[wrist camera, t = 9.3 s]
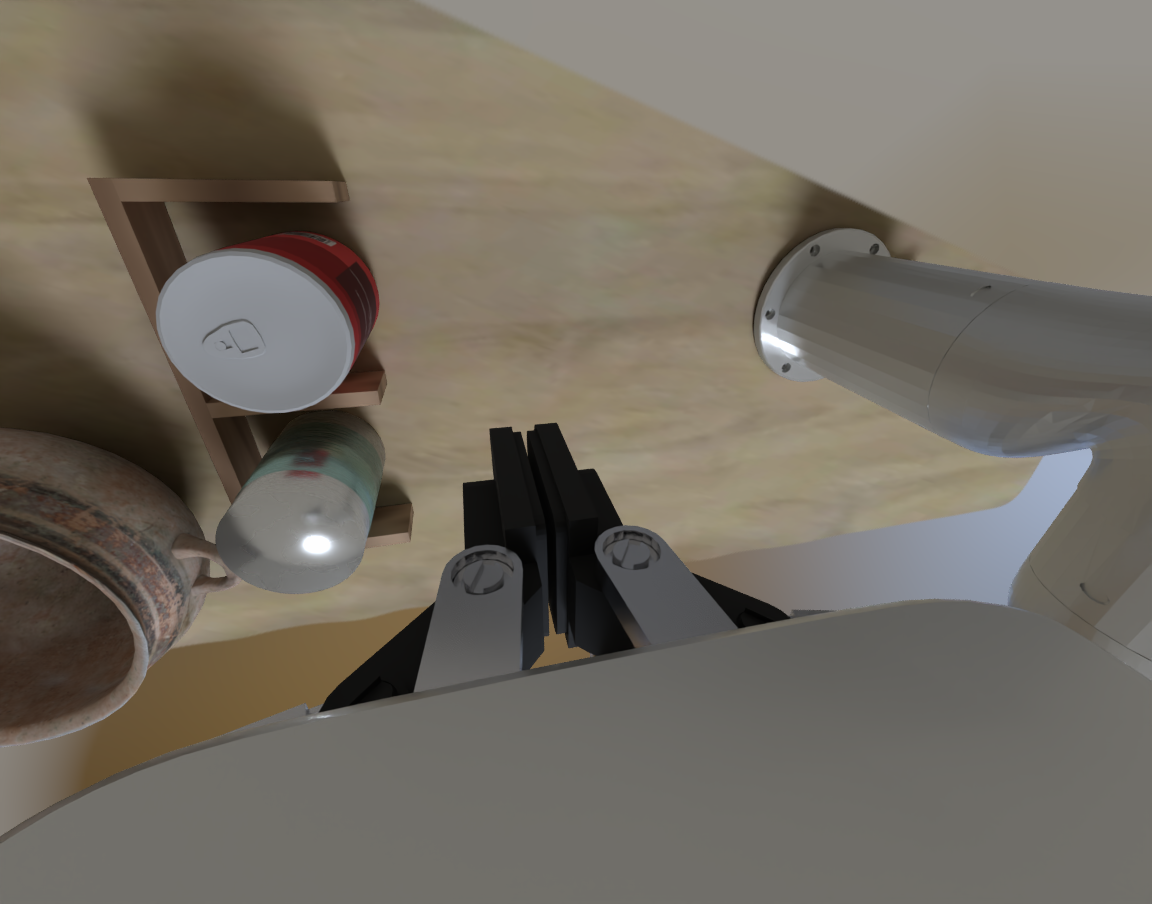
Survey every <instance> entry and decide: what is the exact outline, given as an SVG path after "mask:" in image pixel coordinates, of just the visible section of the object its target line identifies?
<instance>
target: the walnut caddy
mask: <svg viewBox="0 0 1152 904" xmlns="http://www.w3.org/2000/svg"><path fill="white" fill-rule="evenodd" d="M87 180H88V182H89V184H90V186H91V189H92V191H93V193H94V195H95V198H96V200H97V202H98V204H99V207H100V209H101V211H102V213H103V216H104V218H105V220H106V222H107V225H108V227H109V229H110V231H111V234H112V236H113V238H114V240H115V243H116V245H117V247H118V249H119V252H120V254H121V256H122V258H123V261H124V263H125V265H126V267H127V270H128V272H129V274H130V276H131V279H132V281H133V283H134V286H135V288H136V290H137V292H138V295H139V297H140V299H141V301H142V304H143V306H144V308H145V310H146V313H147V315H148V317H149V319H150V322H151V324H152V326H153V328H154V331H155V333H156V335H157V337H158V340H159V342H160V344H161V346H162V343H161V340H160V337H159V334H158V331H157V323H156V308H157V303H158V297H159V295H160V293H161V291H162V289H163V287H164V285H165V283H166V281H167V280H168V279H169V278H170V277H171V276H172V275H173V274H174V272H175V271H176V270H177V269H179V268H180V267H182V266H183V265H185V264H187V262H186V259H185V257H184V254H183V251H182V249H181V246H180V243H179V241H178V238H177V236H176V233H175V230H174V228H173V225H172V222H171V220H170V217H169V215H168V212H167V209H166V207H165V204H164V202H343V201H350V199H349V195H348V190H347V185H346V182H339V181H284V180H207V179H131V178H87ZM162 349H163V351H164V353H165V355H166V358H167V360H168V362H169V364H170V367H171V369H172V371H173V373H174V376H175V378H176V380H177V382H178V385H179V387H180V389H181V391H182V394H183V396H184V398H185V401H186V403H187V405H188V407H189V410H190V412H191V414H192V416H193V419H194V421H195V423H196V425H197V428H198V430H199V432H200V434H201V437H202V439H203V441H204V443H205V446H206V448H207V450H208V452H209V455H210V457H211V459H212V461H213V464H214V466H215V468H216V470H217V473H218V475H219V477H220V479H221V482H222V484H223V486H224V488H225V491H226V493H227V495H228V497H229V500H230V502H231V504H232V503H233V502H234V500H235V498H236V496H237V494H238V493H239V492H240V490H241V489H242V487H243V486H244V484H245V483H246V481H247V480H248V479H249V477H250V476H251V474H252V473H253V471H254V470H255V468H256V467H257V466H258V464H259V463H260V461H261V460H262V459H261V456H260V454H259V451H258V448H257V446H256V443H255V440H254V438H253V435H252V433H251V430H250V427H249V425H248V422H247V419H246V417H245V415H258V414H270V413H263V412H255V411H248V410H245V409H241V408H238V407H234V406H231V405H229V404H226V403H224V402H222V401H219V400H217V399H215V398H213V397H211V396H210V395H208V394H207V393H205V392H203V391H202V390H200V389H199V388H197V387H196V386H195V385H194V384H193V383H191V382H190V381H189V380H188V379H187V378H185V377H184V376H183V375H182V373H181V372H180V371H179V370H178V369H177V368H176V366H175V365H174V364H173V363H172V362H171V360H170V358H169V357H168V355H167V353H166V351H165V350H164V348H163V346H162ZM386 386H387V380H386V375H385V371H371V372H356V373H348V374H347V376H346V377H345V379H344V380H343V382H342V383H341V384H340V385H339V386H338V387H337V388H336V389H335V390H334V391H333V392H332V393H331V394H330V395H329V396H328V397H326V398H325V399H323V400H321V401H320V402H318V403H316V404H315V405H312V406H309V407H307V408H304V409H301V410H296V411H308V410H320V409H333V408H345V407H358V406H370V405H380V404H381V401H382V398H383V395H384V392H385V389H386ZM291 412H295V411H291ZM413 514H414V512H413V507H412V503H409V504H401V505H393V506H384V507H376V508H375V510H374V514H373V518H372V523H371V527H370V531H369V534H368V537H367V540H366V545H365V548H371V547H378V546H386V545H393V544H400V543H407V542H410V540H411V531H412V523H413Z"/></svg>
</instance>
